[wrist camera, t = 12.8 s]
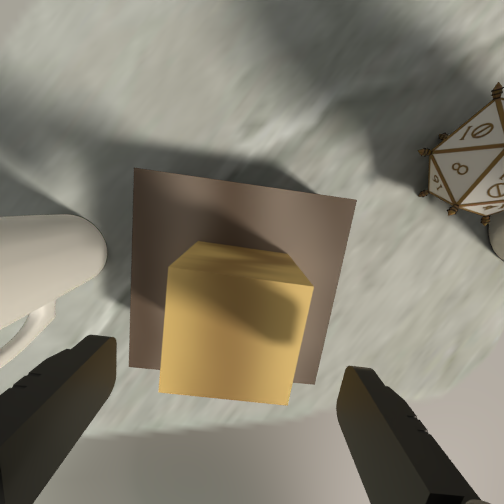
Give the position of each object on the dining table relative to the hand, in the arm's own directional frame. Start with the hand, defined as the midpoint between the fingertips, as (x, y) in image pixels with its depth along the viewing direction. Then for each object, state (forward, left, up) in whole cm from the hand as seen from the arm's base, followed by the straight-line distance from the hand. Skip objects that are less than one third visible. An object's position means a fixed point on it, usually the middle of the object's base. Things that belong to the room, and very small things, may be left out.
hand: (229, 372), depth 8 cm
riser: (0, 0, -14) cm, 14 cm away
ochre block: (0, 0, -8) cm, 8 cm away
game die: (-17, -11, -14) cm, 25 cm away
